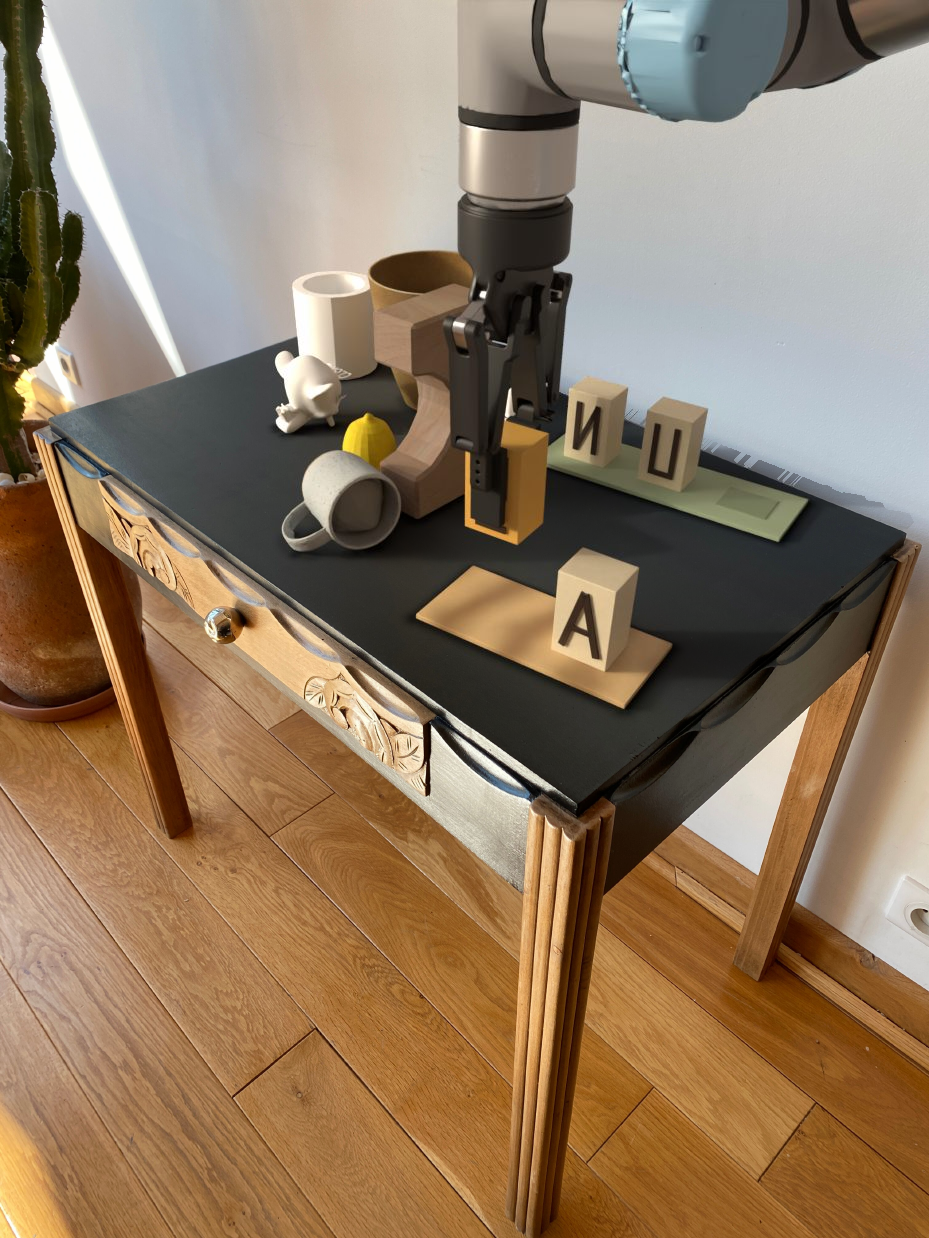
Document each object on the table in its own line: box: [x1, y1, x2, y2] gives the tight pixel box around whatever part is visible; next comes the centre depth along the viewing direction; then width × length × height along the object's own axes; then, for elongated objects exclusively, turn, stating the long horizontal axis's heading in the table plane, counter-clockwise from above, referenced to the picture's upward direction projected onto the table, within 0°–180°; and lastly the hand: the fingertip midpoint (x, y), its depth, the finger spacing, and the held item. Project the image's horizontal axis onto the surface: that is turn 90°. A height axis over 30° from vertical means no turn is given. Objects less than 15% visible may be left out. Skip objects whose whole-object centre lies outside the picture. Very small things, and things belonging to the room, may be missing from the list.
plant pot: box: [366, 249, 473, 411], centre depth 110 cm, size 15×15×16 cm
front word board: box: [415, 565, 673, 710], centre depth 79 cm, size 20×9×1 cm, turn 56°
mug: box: [291, 270, 378, 381], centre depth 121 cm, size 14×10×11 cm
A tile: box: [551, 547, 640, 672], centre depth 74 cm, size 5×4×8 cm
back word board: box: [547, 432, 809, 543], centre depth 99 cm, size 28×9×1 cm, turn 56°
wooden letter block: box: [564, 375, 629, 468], centre depth 100 cm, size 5×4×8 cm
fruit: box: [342, 411, 397, 471], centre depth 96 cm, size 6×6×8 cm
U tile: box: [637, 396, 709, 492], centre depth 97 cm, size 5×4×8 cm
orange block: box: [464, 420, 550, 546], centre depth 72 cm, size 5×4×8 cm
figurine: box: [274, 350, 351, 434], centre depth 107 cm, size 12×8×10 cm
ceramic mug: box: [281, 449, 402, 552], centre depth 88 cm, size 11×8×8 cm
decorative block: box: [373, 284, 493, 520], centre depth 91 cm, size 11×6×20 cm, turn 136°
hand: (504, 507), depth 74 cm, fingers closed on orange block, 4 cm apart
